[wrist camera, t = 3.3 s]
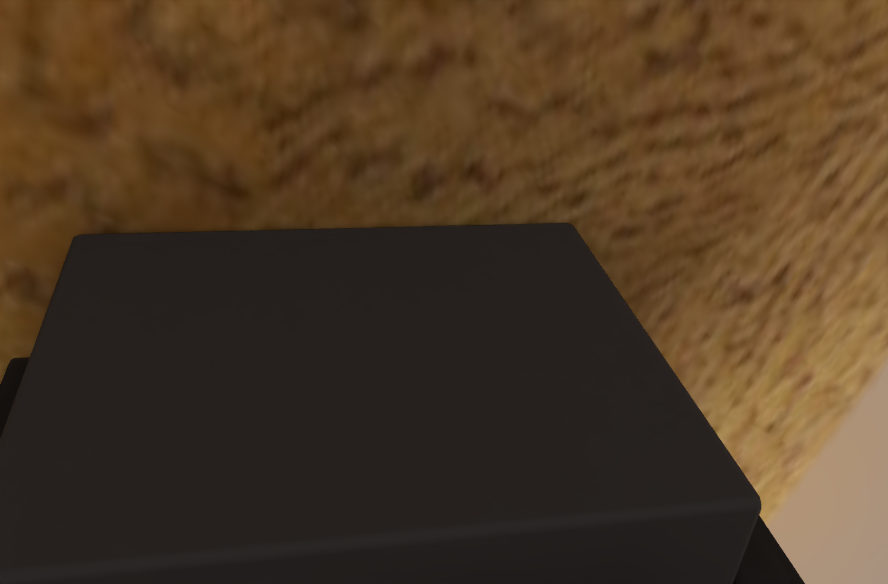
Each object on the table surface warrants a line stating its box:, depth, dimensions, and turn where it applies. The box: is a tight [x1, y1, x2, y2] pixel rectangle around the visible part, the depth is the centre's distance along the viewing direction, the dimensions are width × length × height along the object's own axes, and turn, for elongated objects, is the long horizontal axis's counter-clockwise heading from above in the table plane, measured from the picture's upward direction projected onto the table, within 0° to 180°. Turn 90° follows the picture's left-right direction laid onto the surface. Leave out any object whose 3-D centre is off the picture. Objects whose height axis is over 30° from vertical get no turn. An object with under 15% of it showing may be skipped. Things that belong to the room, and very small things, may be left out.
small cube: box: [0, 223, 761, 584], centre depth 9 cm, size 6×6×5 cm
